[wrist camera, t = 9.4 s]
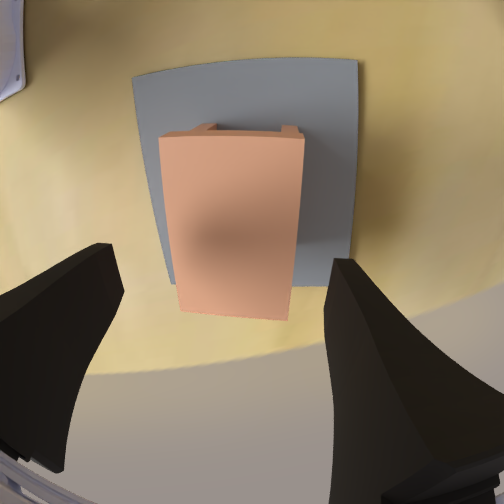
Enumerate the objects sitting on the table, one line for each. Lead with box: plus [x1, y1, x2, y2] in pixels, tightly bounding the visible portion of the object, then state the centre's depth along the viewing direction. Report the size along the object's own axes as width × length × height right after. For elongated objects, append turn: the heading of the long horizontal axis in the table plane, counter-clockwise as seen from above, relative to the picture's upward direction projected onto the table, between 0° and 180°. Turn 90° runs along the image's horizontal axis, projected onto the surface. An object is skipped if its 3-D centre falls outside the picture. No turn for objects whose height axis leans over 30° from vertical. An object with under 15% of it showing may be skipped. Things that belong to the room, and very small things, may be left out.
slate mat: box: [132, 58, 358, 286], centre depth 17 cm, size 14×12×1 cm
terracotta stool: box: [158, 123, 305, 321], centre depth 14 cm, size 5×8×6 cm, turn 179°
